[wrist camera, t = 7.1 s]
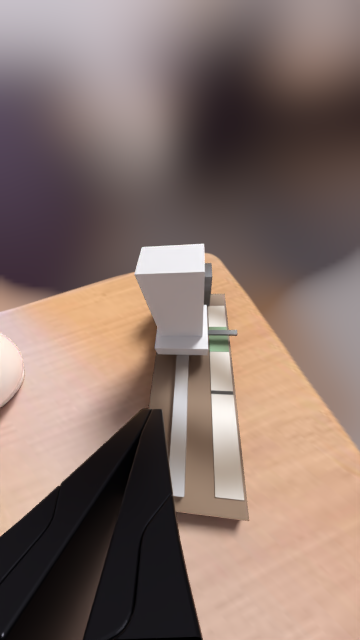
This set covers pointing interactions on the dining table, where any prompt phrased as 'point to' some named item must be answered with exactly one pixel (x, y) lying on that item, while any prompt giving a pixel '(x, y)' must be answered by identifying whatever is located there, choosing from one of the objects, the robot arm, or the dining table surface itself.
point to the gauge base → (203, 422)
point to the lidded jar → (9, 369)
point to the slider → (177, 297)
